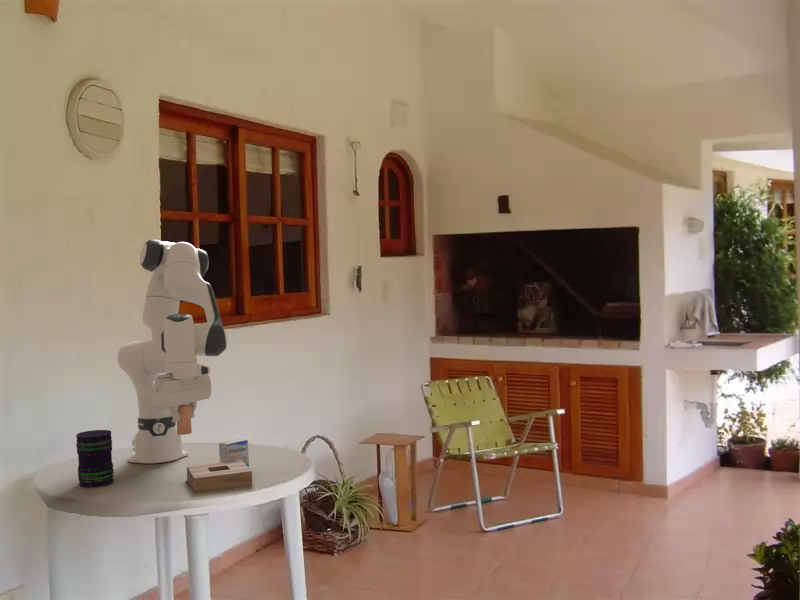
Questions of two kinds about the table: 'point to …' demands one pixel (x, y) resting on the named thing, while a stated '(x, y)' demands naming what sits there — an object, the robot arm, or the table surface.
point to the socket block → (219, 475)
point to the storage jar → (95, 458)
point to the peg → (184, 419)
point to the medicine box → (234, 451)
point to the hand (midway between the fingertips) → (183, 419)
